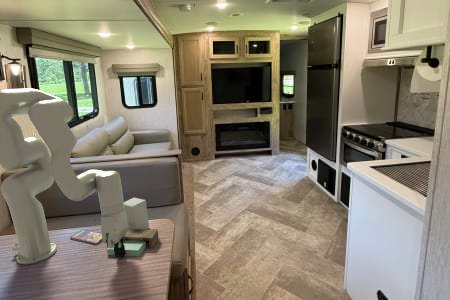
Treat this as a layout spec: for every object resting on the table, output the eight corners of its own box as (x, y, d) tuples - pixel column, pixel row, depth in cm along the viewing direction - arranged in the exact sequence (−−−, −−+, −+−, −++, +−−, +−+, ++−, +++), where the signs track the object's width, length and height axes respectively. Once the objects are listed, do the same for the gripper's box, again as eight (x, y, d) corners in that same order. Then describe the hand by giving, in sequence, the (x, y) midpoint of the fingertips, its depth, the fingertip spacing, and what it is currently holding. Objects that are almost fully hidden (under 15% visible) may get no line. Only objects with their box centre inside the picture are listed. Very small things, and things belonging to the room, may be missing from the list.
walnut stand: (107, 246, 112) (105, 236, 111) (114, 237, 118) (113, 228, 117) (152, 247, 109) (151, 237, 108) (158, 239, 115) (157, 229, 114)
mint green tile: (107, 254, 106) (106, 249, 106) (116, 245, 112) (115, 240, 111) (138, 256, 104) (138, 250, 104) (145, 247, 110) (145, 241, 109)
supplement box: (149, 227, 125) (146, 199, 122) (136, 235, 119) (132, 206, 116) (137, 223, 129) (134, 196, 126) (124, 231, 122) (119, 203, 120)
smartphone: (83, 231, 126) (110, 236, 120) (68, 239, 119) (96, 245, 113) (83, 229, 125) (110, 234, 120) (68, 237, 119) (96, 243, 113)
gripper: (113, 198, 107) (121, 243, 111) (89, 217, 93) (98, 268, 97) (133, 198, 106) (139, 244, 110) (111, 217, 91) (119, 269, 96)
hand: (120, 255), depth 103 cm, fingers closed
